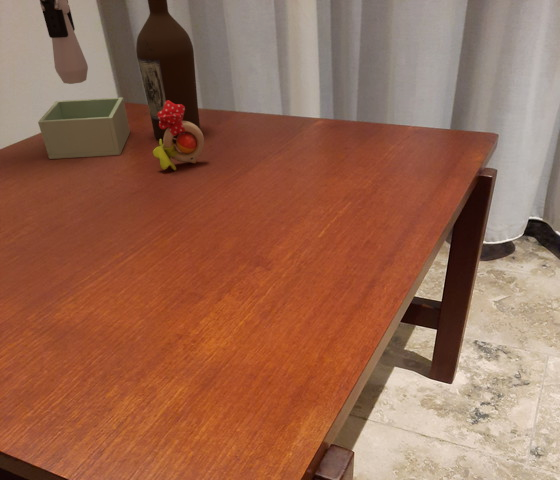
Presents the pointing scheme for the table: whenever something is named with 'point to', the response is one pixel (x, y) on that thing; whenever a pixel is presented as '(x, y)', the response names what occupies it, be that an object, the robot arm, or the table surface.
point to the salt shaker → (69, 53)
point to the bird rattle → (186, 141)
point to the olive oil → (167, 66)
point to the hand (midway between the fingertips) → (62, 33)
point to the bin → (85, 128)
